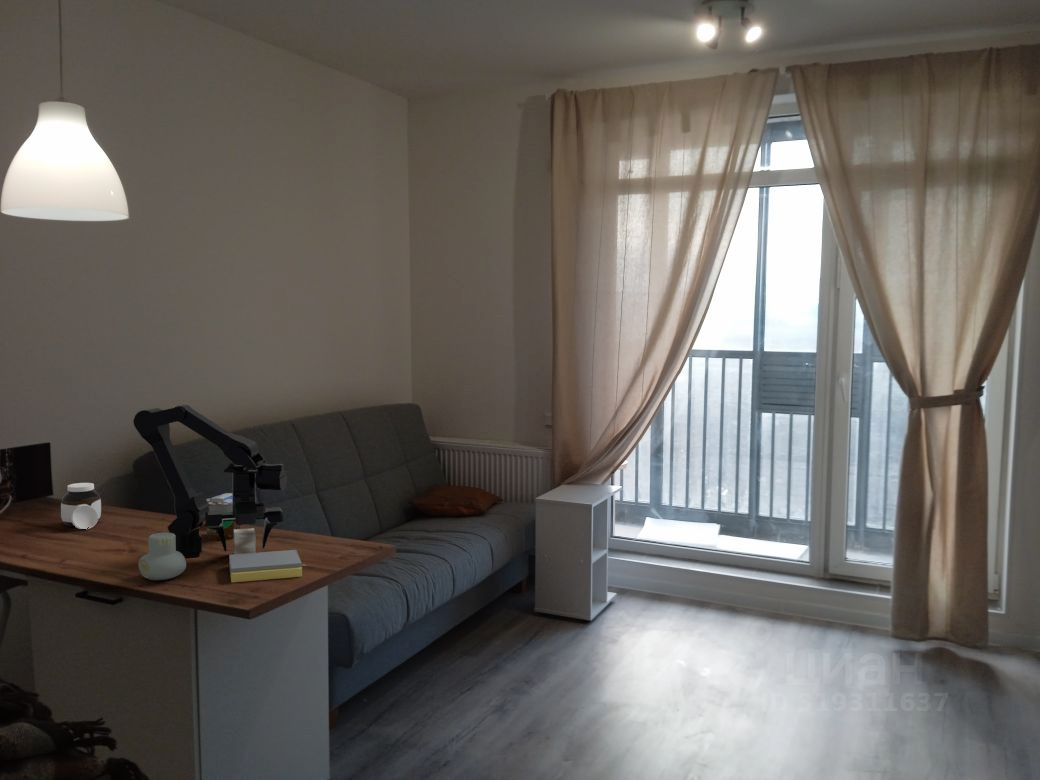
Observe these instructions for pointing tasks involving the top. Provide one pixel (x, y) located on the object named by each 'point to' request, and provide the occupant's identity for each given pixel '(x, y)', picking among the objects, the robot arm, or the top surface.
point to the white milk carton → (244, 541)
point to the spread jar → (81, 506)
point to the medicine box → (223, 498)
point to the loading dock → (264, 565)
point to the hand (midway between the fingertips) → (244, 549)
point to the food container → (228, 525)
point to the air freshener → (162, 558)
